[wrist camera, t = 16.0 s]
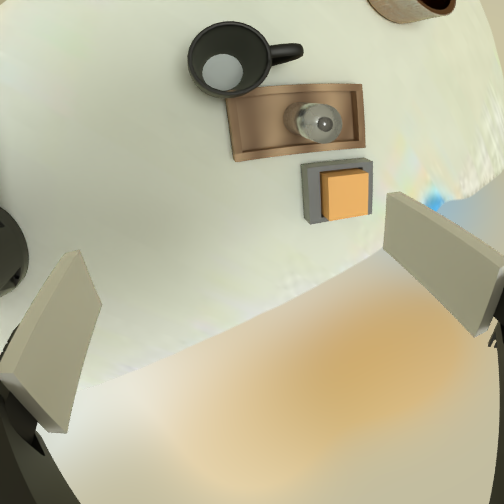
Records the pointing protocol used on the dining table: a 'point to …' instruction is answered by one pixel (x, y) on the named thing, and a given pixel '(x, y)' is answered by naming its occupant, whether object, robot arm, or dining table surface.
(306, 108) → the cell
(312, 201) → the frame
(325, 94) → the wooden tray
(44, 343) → the robot arm
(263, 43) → the mug
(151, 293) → the dining table surface
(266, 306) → the dining table surface
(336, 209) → the orange square block
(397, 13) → the planter
